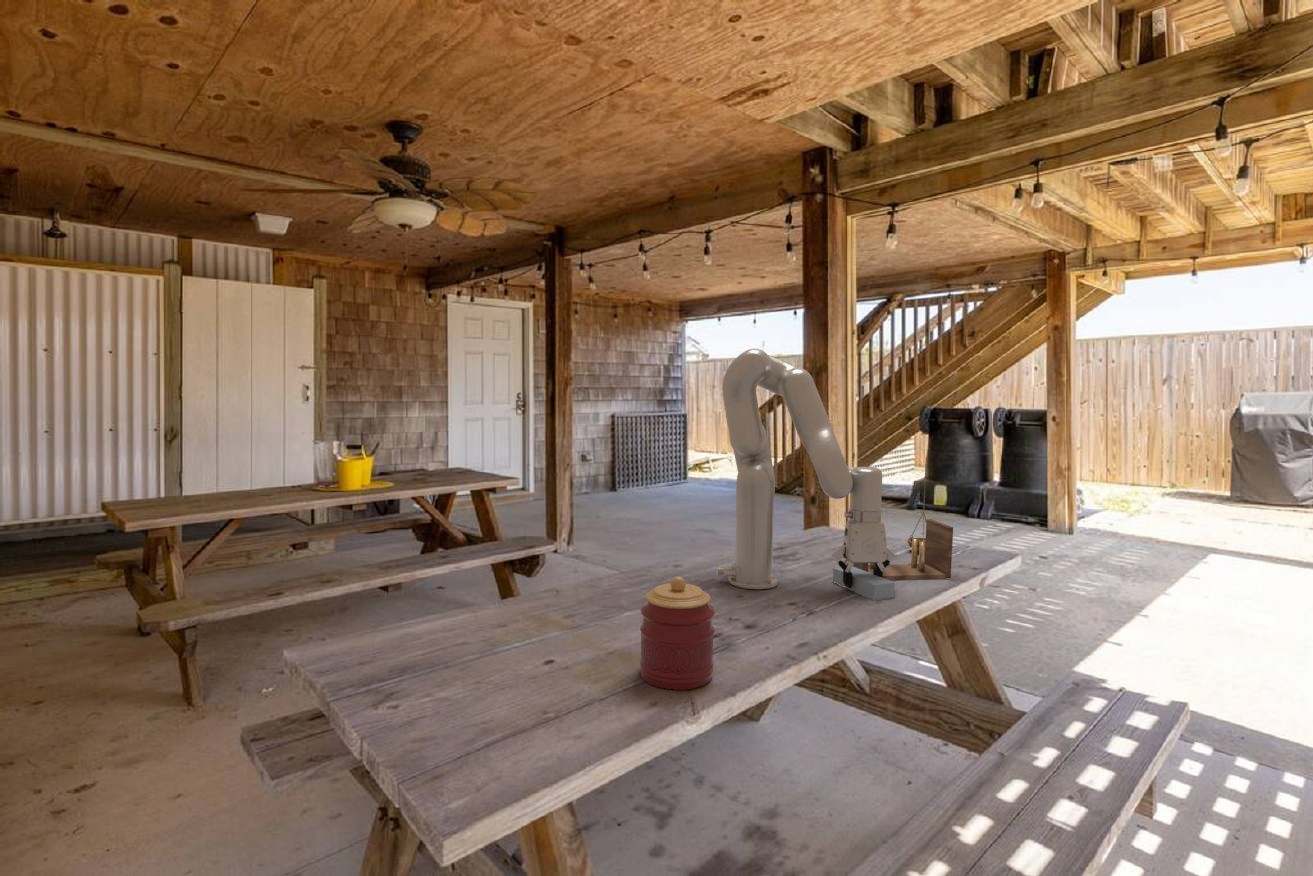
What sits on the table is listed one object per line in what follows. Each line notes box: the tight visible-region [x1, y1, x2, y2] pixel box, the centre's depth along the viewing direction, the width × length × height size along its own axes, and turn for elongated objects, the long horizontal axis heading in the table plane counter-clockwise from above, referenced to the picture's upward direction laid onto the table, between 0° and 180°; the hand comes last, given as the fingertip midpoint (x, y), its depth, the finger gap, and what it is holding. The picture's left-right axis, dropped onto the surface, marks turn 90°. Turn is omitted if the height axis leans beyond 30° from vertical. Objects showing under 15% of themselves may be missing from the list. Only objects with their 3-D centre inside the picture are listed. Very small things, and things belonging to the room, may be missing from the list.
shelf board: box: [832, 566, 895, 601], centre depth 174 cm, size 16×6×4 cm, turn 23°
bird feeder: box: [907, 457, 928, 552], centre depth 213 cm, size 9×9×30 cm
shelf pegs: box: [869, 539, 926, 572], centre depth 189 cm, size 14×6×8 cm, turn 98°
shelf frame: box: [846, 518, 954, 581], centre depth 188 cm, size 25×11×14 cm, turn 98°
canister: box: [639, 576, 716, 691], centre depth 120 cm, size 13×13×18 cm
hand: (862, 585), depth 174 cm, fingers closed on shelf board, 7 cm apart
